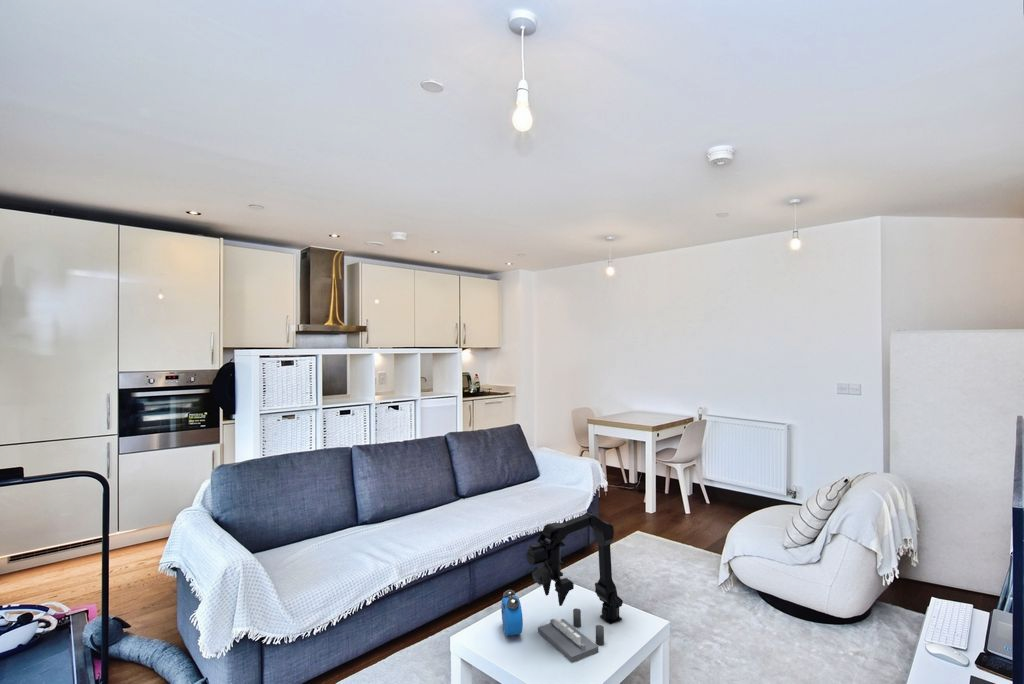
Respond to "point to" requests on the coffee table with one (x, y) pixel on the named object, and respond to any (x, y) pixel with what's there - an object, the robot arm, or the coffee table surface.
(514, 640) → the coffee table surface
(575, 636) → the breaker paddles
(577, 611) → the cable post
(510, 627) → the alarm clock
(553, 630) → the breaker panel
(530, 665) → the coffee table surface
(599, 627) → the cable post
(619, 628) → the coffee table surface
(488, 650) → the coffee table surface
